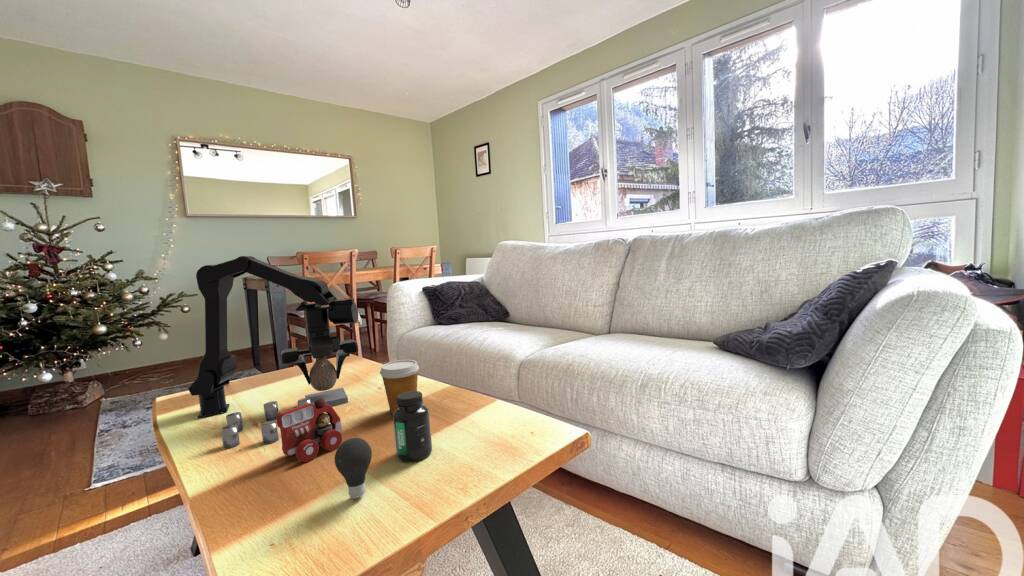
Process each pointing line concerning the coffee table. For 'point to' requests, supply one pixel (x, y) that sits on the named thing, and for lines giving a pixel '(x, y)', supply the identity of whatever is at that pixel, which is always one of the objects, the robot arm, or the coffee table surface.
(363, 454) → the light bulb
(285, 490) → the coffee table surface
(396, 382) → the disposable coffee cup
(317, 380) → the brown textured oval
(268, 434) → the spacer posts
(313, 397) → the mat
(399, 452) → the supplement bottle
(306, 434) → the toy fire truck
